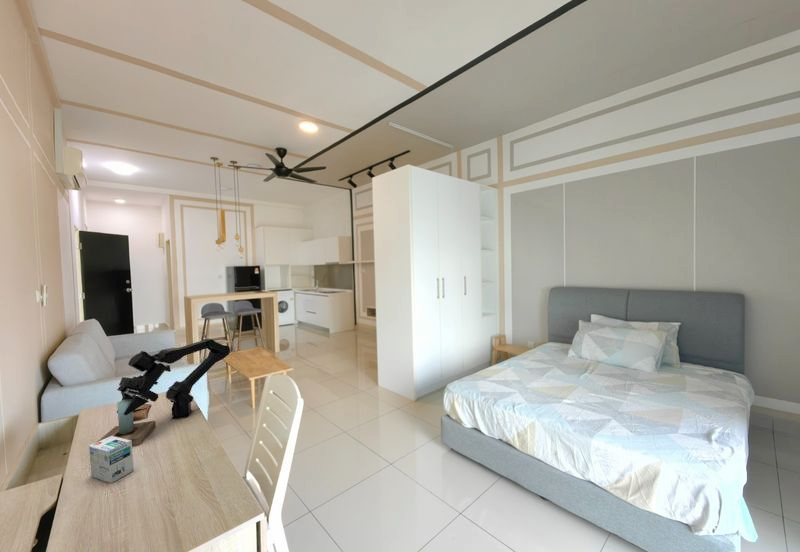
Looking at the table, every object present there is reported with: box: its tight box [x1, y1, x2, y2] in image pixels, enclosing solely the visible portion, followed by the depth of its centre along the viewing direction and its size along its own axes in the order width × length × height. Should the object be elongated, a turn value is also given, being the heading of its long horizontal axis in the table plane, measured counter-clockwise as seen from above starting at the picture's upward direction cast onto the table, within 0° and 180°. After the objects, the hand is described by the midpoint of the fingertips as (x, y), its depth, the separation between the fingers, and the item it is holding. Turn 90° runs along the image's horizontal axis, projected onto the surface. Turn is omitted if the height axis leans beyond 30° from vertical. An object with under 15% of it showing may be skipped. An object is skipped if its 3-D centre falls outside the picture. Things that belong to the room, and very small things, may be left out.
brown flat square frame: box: [96, 420, 156, 448], centre depth 124 cm, size 14×14×3 cm
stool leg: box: [116, 399, 135, 434], centre depth 123 cm, size 4×4×12 cm
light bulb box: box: [88, 436, 134, 484], centre depth 103 cm, size 11×7×11 cm, turn 71°
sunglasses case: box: [133, 403, 152, 423], centre depth 145 cm, size 18×7×7 cm
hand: (121, 413), depth 122 cm, fingers closed on stool leg, 4 cm apart
